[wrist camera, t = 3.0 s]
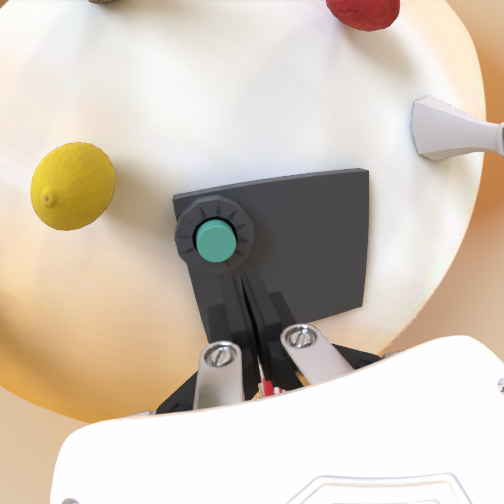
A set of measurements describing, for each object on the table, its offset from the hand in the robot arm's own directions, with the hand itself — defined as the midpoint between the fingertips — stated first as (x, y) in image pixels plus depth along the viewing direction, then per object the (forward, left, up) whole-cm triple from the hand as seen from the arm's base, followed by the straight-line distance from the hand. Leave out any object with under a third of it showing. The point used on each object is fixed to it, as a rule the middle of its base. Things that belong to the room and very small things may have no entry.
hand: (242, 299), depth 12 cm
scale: (+5, -4, -11) cm, 13 cm away
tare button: (0, 0, -8) cm, 8 cm away
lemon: (-9, +6, -11) cm, 15 cm away
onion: (+13, +18, -11) cm, 25 cm away
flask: (+23, +7, -11) cm, 26 cm away
